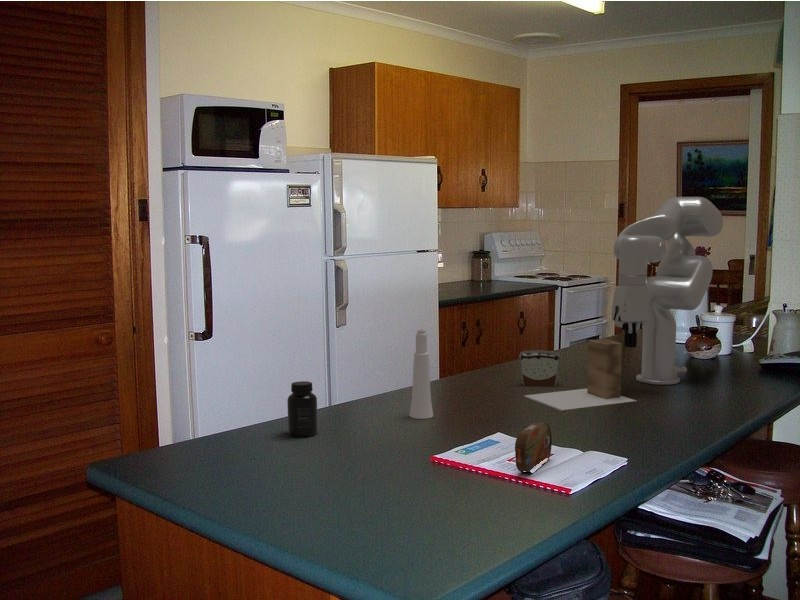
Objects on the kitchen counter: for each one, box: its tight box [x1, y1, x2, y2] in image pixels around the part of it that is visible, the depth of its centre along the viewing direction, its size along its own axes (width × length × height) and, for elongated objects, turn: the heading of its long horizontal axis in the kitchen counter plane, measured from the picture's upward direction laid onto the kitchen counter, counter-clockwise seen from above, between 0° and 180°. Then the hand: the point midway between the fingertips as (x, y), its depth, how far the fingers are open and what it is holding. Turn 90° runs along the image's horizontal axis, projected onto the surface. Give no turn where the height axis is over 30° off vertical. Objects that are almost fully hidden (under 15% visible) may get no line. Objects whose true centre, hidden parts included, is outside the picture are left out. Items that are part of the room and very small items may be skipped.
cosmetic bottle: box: [408, 328, 434, 420], centre depth 204 cm, size 6×6×22 cm
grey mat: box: [524, 388, 637, 412], centre depth 223 cm, size 24×18×1 cm
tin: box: [514, 422, 553, 472], centre depth 164 cm, size 15×3×8 cm, turn 150°
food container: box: [518, 350, 562, 387], centre depth 240 cm, size 12×6×10 cm, turn 84°
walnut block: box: [586, 338, 623, 399], centre depth 225 cm, size 5×8×15 cm, turn 24°
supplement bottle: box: [286, 380, 319, 438], centre depth 189 cm, size 7×7×12 cm
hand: (630, 346), depth 228 cm, fingers closed
